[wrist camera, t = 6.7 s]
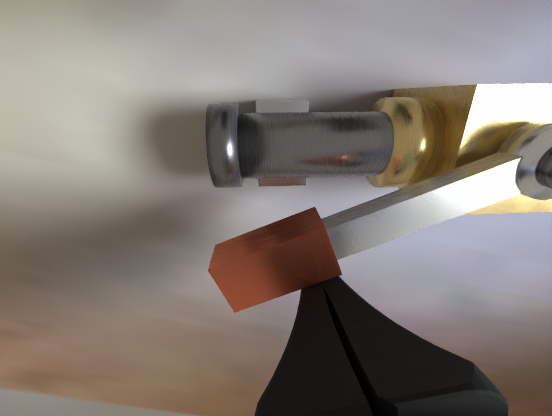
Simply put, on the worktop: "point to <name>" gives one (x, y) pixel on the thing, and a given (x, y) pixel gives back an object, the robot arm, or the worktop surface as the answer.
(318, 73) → the worktop surface
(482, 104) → the pipe valve
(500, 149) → the valve lever
